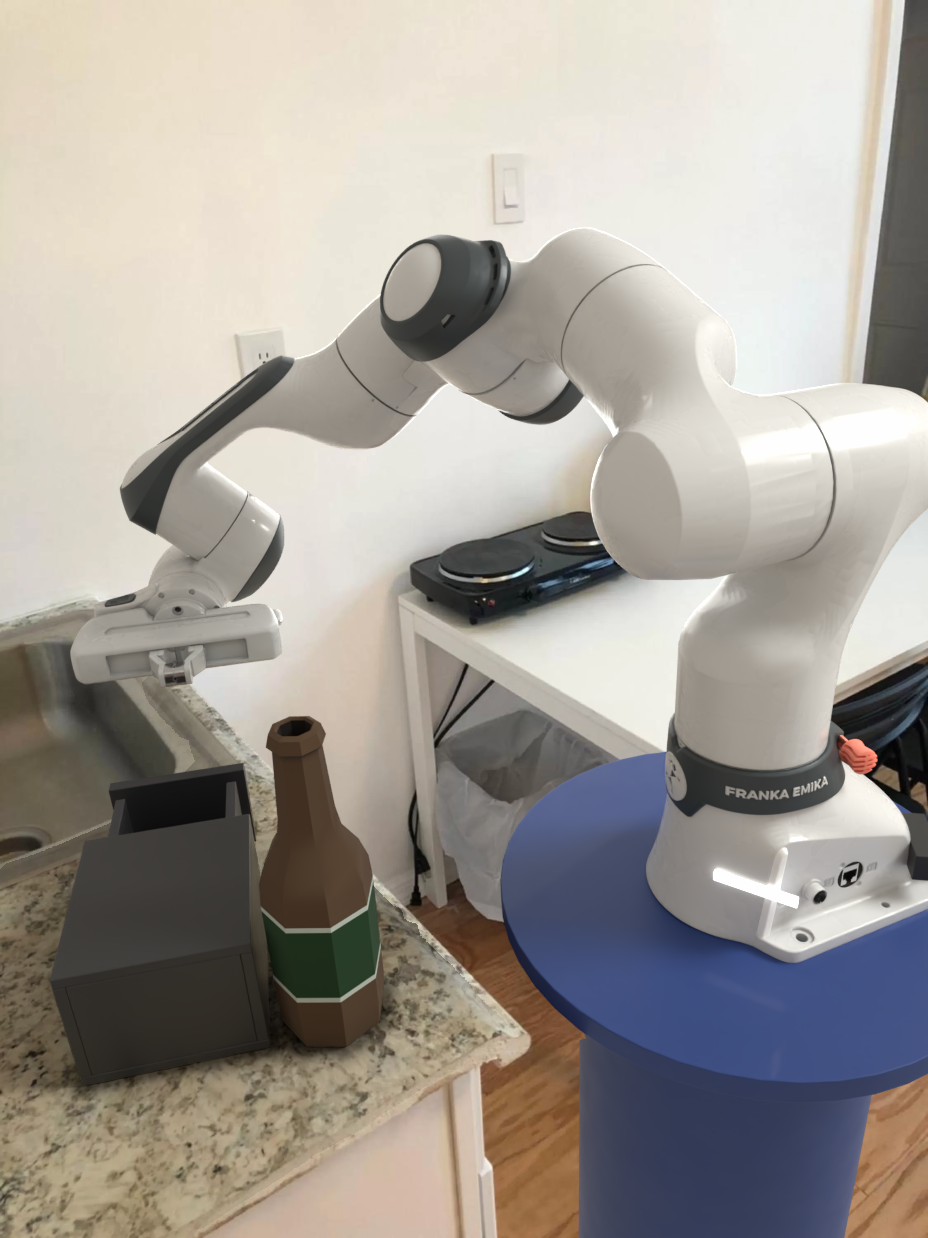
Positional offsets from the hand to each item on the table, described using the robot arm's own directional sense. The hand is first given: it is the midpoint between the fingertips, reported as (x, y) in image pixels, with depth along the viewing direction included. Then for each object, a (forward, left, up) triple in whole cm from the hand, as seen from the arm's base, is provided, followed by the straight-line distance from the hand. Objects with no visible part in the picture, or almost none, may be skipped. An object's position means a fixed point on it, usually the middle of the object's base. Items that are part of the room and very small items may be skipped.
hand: (175, 679), depth 88 cm
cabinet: (0, +25, -13) cm, 29 cm away
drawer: (0, +14, -12) cm, 18 cm away
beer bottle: (-11, +30, -14) cm, 35 cm away
